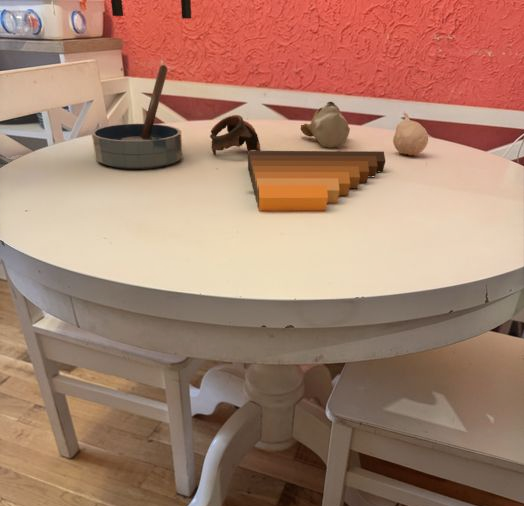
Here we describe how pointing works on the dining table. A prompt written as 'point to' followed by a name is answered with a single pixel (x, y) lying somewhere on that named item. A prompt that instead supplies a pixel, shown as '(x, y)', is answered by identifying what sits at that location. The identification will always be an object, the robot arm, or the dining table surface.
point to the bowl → (137, 146)
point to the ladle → (151, 107)
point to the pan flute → (308, 176)
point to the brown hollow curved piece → (234, 134)
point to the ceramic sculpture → (328, 126)
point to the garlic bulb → (410, 137)
